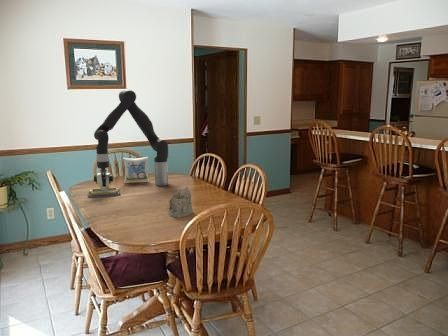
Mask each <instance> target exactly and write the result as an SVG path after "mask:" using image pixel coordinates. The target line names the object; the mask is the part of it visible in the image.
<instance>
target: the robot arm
mask: <svg viewBox="0 0 448 336" xmlns="http://www.w3.org/2000/svg"><path fill="white" fill-rule="evenodd" d="M118 99H119V104H118V105H117V106H116V107H115V108H114V109H113V110H112V111H110V113H109V114H108V115H107V117H105V119H104V120H103V122H102V124H100V125H99V126H98V127H97V129H95V131H94V133H93V137H94V139H95V140H97V145H96V148H95V149H96V151H95V152H96V168H97V169H100V170H99V171H100V172H99V173H101V178H102V185H103V187H106V175H105V174H106V173H108V172H107V171H108V170H107V169H108V168H109V167H110V162H109V161H110V159H109V151H108V150H109V149H108V145H109V132H110V131H112V130H113V129H114V127H115V126H116V125H117V123H118V122H119V120H120V118H122V116H123V115H124V113H126V111H128V112H129V115H130V116H131V118H133V120H134V122H135V123H136V125H137V127H138V128H139V129H140V130H141V133H142V134H143V135H144V136H145V138H146V139H147V141H148V143H149V144H150V147H151V148H152V150H153V151H155V152H156V156H155V157H154V158H153V159H154V160H153V161H154V164H153V165H154V184H155V186H157V187H158V186H159V187H160V186H168V185H169V171H168V158H169V144H168V142H167V141H166V140H165V139H160V138H159V137H158V135H157V133H156V132H155V129H154V125H153V121H151V119H150V118H149V116H148V115H147V114H146V112H145V111H143V110H142V109H141V108H140V107H139V106H138V105H137V103H136V100H137V95H136V92H135V91H133V90H130V89H126V90H125V89H124V90H121V91H120V92H119V93H118ZM106 168H107V169H106ZM103 177H105V179H103Z"/></svg>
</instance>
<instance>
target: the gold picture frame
mask: <svg viewBox="0 0 448 336" xmlns="http://www.w3.org/2000/svg"><path fill="white" fill-rule="evenodd" d="M115 196H116V197H117V196H118V197H119V196H122V195H121V188H118V187H117V186H115V187H109V189H107V190H101V189H100V188H91V189H90V190H88V195H87V197H88V199H90V198H101V197H102V198H104V197H115Z"/></svg>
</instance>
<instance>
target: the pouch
mask: <svg viewBox="0 0 448 336" xmlns="http://www.w3.org/2000/svg"><path fill="white" fill-rule="evenodd" d="M122 159H123V164H124V170H125V172H124V182H123V184H125V183H129V182H137V181H139V182H142V181H143V182H150V180H149V176H148V161H149V160H148V159H149V155H148V156H145V157H137V158H131V157H130V158H128V157H125V156H124V157H123V156H122Z"/></svg>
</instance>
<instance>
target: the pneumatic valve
mask: <svg viewBox="0 0 448 336" xmlns="http://www.w3.org/2000/svg"><path fill="white" fill-rule="evenodd" d="M105 175H106V187H103V185H102V178H101V173H100V172H99V173H95V174H94V175H93V181H94V183H95V184H96V185H100V186H99V189H101V190H107V189H109V188H110V186H109V185H110V184H111V183H112V182H114V175H112V173H111V172H107V173H106V174H105ZM103 179H105V177H103Z"/></svg>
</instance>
